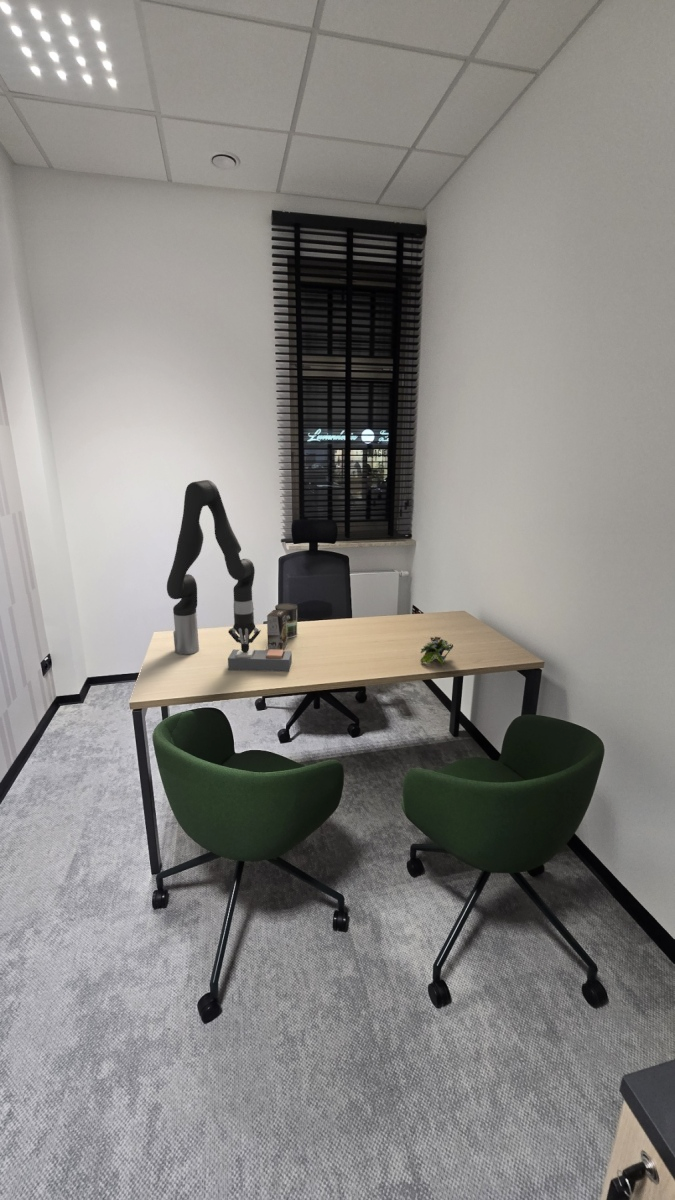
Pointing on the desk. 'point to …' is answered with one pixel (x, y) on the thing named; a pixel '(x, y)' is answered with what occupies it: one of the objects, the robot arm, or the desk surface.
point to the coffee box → (277, 629)
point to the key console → (260, 662)
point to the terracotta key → (275, 653)
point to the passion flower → (435, 650)
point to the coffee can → (290, 618)
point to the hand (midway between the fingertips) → (245, 651)
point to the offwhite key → (245, 654)
